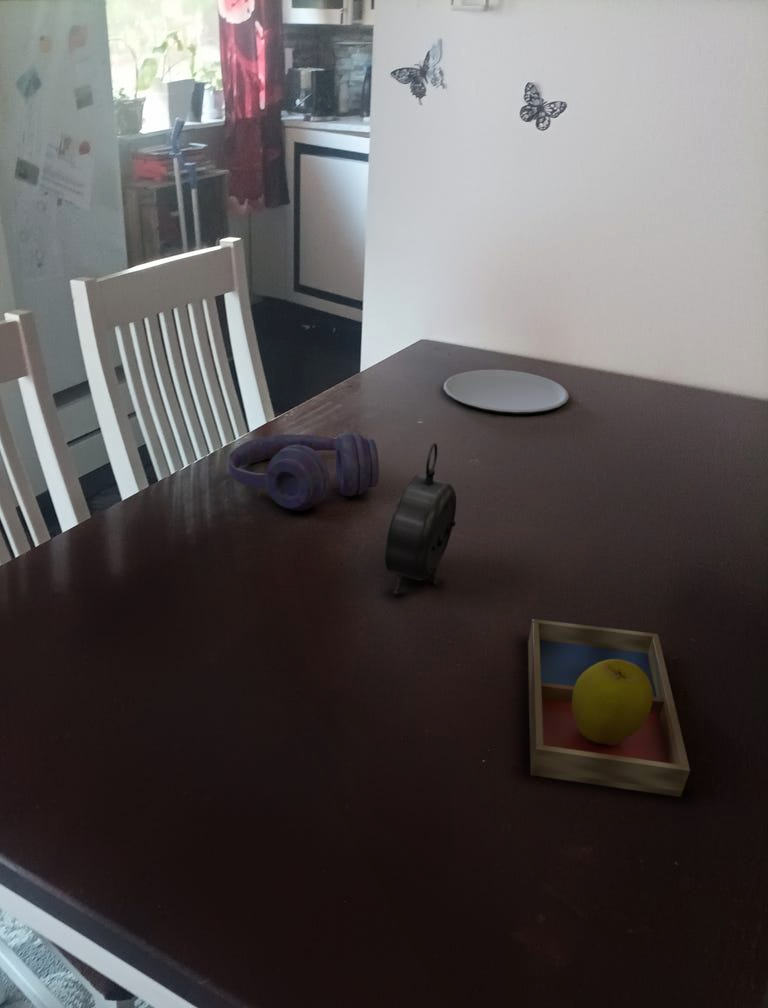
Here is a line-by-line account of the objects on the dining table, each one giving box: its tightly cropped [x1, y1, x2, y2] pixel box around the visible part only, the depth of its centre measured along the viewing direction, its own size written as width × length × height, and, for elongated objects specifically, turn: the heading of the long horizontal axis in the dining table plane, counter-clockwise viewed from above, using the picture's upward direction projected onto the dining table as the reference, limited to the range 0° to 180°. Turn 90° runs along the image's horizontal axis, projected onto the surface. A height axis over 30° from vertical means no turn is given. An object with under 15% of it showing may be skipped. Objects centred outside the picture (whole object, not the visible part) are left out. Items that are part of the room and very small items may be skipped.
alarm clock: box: [384, 442, 457, 597], centre depth 97 cm, size 11×5×16 cm, turn 154°
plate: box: [443, 369, 570, 415], centre depth 152 cm, size 21×21×1 cm
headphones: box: [227, 432, 380, 512], centre depth 120 cm, size 18×8×20 cm
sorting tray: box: [527, 618, 691, 798], centre depth 82 cm, size 12×20×3 cm, turn 168°
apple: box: [572, 659, 653, 745], centre depth 76 cm, size 6×6×8 cm
